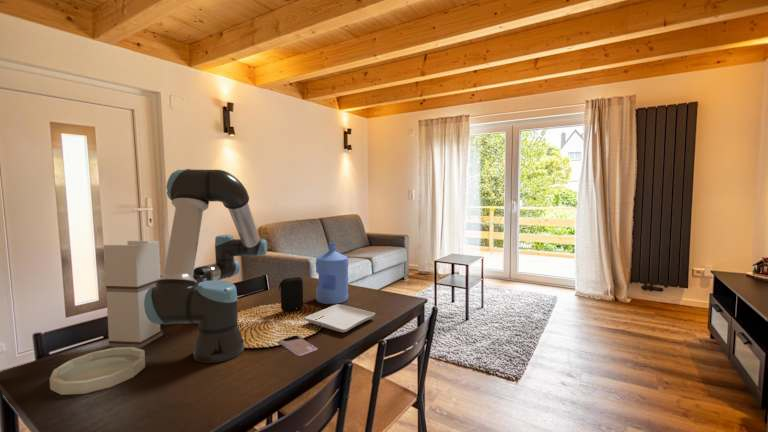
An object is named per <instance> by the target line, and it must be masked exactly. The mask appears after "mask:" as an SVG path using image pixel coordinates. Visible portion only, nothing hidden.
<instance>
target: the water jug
mask: <svg viewBox="0 0 768 432" xmlns="http://www.w3.org/2000/svg"><path fill="white" fill-rule="evenodd" d="M315 268H316V269H315V272H316V274H317V275H318V283H317V285H316V286H315V287H316V289H315V291H316V295H315V299H316V301H317V302H318V303H320V304H324V305H336V304H342V303H344V302H346V301H348V300H349V257H348V256H347V255H344V254H343V253H340V252H338V251H336V243H335V242H328V251H326V252H325V253H323V254H320V255H319V256H317V257H316V258H315Z"/></svg>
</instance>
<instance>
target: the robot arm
mask: <svg viewBox="0 0 768 432" xmlns="http://www.w3.org/2000/svg"><path fill="white" fill-rule="evenodd" d="M166 190H167V191H166V195H167V197H168V198H169V200H170V201H171V205H173V207H175V208H174V209H175V211H174V215H173V221H172V227H171V231H170V237H169V244H168V249H167V254H166V258H165V264H164V270H163V274H162V275H160V278H159V279H158V280H157V283H156V287H152V288H150V289H149V290H148V292H147V293H146V295H145V299H144V310H145V314H146V315H147V318H148V319H149V320H150V321H151V322H152V323H155V324H160V325H168V326H169V325H173V324H175V325H176V324H198V334H197V338H196V341H195V345H194V347H193V353H192V354H193V355H192V356H193V359H194V360H195V361H196V362H198V363H201V364H214V363H215V364H217V363H221V362H225V361H228V360H232V359H234V358H237V357H238V356H239V355H241V354H242V353H243V352H244V350H245V341H244V339H243V336H242V334H241V331H240V329H239V323H238V321H239V320H238V318H239V317H238V314H239V313H238V300H239V299H238V298H239V297H238V293H237V287H236V285H235V284H234V283H232V282H230V281H228V280H227V281H226V280H224V279H229V278H232V277H234V276H237V275H238V274H239V272H240V270H241V266H240V263H239V262H238V261H237V260H236V259H235V257H258V256H259V257H261V256H265V255H266V254H267V252H268V241H267V240H266V239H264V238H263V239H262V238H260V236H259V233H258V230H257V226H256V223H255V220H254V217H253V214H252V211H251V208H250V205H249V202H250V197H249V194H248V191H247V189H246V188H245V186H244V185H243V183H242V182H241V181H240V180H239V179H238V178H237V177H236V176H235V175H233V174H232V173H230V172H228V171H225V170H222V169H191V168H185V169H176V170H175V171H173V172H172V173H171V174H169V176H168V180H167V183H166ZM210 202H220V203H222V204H223V206H224V207H225V208H226V209H228V211H229V214H230V216H231V220H232V222H233V224H234V227H235V228H236V231H237V234H238V235H239V236H238V237H239V239H237V238H236V239H235V238H234V236H233V235H232V234H220V235H216V236H215V239H214V253H215V263H211V264H207V265H201V266H197V267H195V265H196V264H195V263H196V258H197V253H198V247H199V239H200V235H201V234H200V232H201V227H202V226H201V225H202V219H203V214H204V213H203V212H204V211H206V210H208V209H209V205H210Z"/></svg>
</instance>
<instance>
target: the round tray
mask: <svg viewBox="0 0 768 432" xmlns="http://www.w3.org/2000/svg"><path fill="white" fill-rule="evenodd" d="M145 353H146V351H145V349H142V348H135V347H109V348H107V349H106V348H105V349H102V350H97V351H96V350H95V351H91V352H89V353H86V354H83V355H80V356H77V357H75V358H71V359H70V360H68V361H66V362H64V363H62V364H61V365H59V366H58V367H56V368H54V369H53V371H52V373H51V374H50V377H49V389H50V390H51V391H53V392H55V393H57V394H58V395H61V396H62V395H63V396H64V395H67V396H68V395H83V394H84V395H85V394H88V393H92V392H97V391H100V390H105V389H108V388H113V387H115V386H116V385H117V386H118V385H119V384H121V383H123V382H125V381H128V380H130V379H132V378H134V377H135V376H137V374H139V372H141V371H142V370H144V369H145V368H146V356H145Z"/></svg>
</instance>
